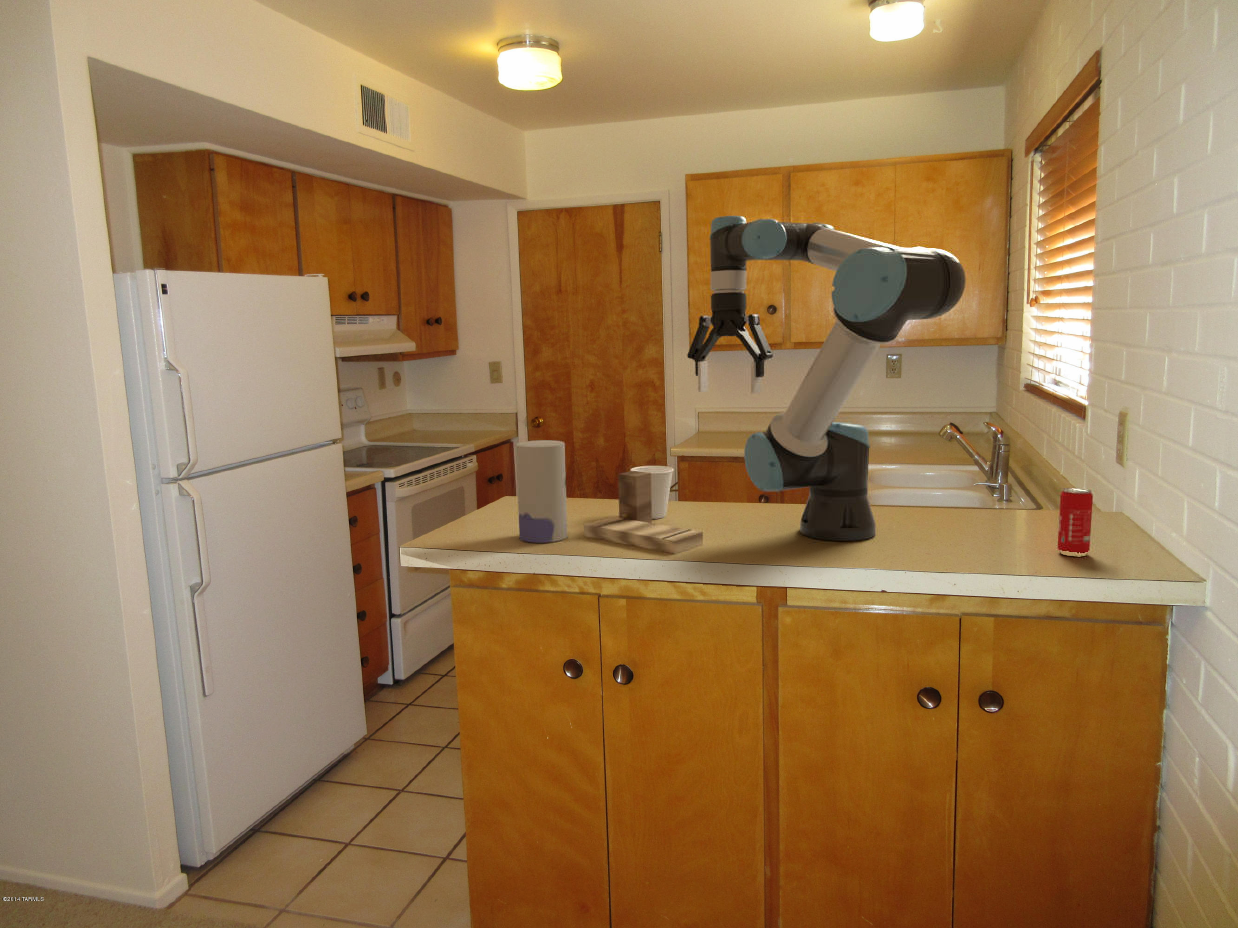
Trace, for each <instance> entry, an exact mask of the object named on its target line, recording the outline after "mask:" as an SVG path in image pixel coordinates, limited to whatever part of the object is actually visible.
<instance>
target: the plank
mask: <svg viewBox="0 0 1238 928" xmlns="http://www.w3.org/2000/svg"><path fill="white" fill-rule="evenodd" d="M583 533H584V534H583V535H584V537H587V538H593V539H598V540H603V541H608V542H613V543H619V544H623V545H629V546H633V545H634V546H635V547H640V548H644V549H649V550H654V551H659V552H665V553H671V554H676V555H677V554H679V553H682V552H685V551H687V550H691V549H693V548H697V547H698V546H702V545H703V544H704V531H699V530H693V529H690V528H689V529H687V528H683V527H682V528H681V527H676V526H669V525H663V524H659V523H658V524H657V523H653V522H652V523H647V522H641V521H635V520H629V519H626V518H625V519H623V518H619V517H617V516H609V517H606V518H602V519H598V520H595V521H592V522H588V523H584V524H583Z"/></svg>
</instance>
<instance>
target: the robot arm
mask: <svg viewBox="0 0 1238 928" xmlns="http://www.w3.org/2000/svg"><path fill="white" fill-rule="evenodd" d="M709 242H710V243H709V244H710V245H709V249H710V250H709V251H710V290H711V292H713V293H711V295H710V310H711V316H709V315H700V316H699V317H698V327H697V329H696V331H695V334H694V337H693V339H692V342H691V343H690V347H689V350H688V353H687V354H686V355H687V358H688V359H691V360H693V361H694V369H695V370H694V371H695V372H694V373H695V374H694V375H695V376H696V377H697V392H707V391H709V376H708V374H709V371H708V370H709V363H708V362H709V361H707V360H706V358H707V357H708V355H709V354H710V353H711V350H712V349H714V346H715V345H716V344H717V342H718V341H719V339H720V338H722V337H736V338H737V339H738V340H739V341H740V343H741V344H742V345H743V346H744V348H745V349H746V351H747V352H748V353H749V355H750V356H751V358H752V359H753V361H751V363H750V393H751V394H761V392H762V378H763V377H764V375H765V361H767V360H769V359H772V358H773V356H774V354H773V352H772V350H771V347H770V345H769V343H768V340H767V337H766V336H765V333H764V330H763V328H762V326H761V321H760V315H759V314H757V313H755V314H752V313H751V314H749V315H747V314H746V311H747V293H746V292H744V291H746V290H747V262H750V261H797V262H799V261H800V262H806V263H809V264H812V265H816V266H819V267H822V268H825V269H827V270H830V271H834V272H835V273H834V276H833V280H832V283H831V285H832V287H834V289H833V290H832V291H831V294H830V295H831V302H832V306H833V307H832V309H833V315H834V318H835V320H836V321H834V322H835V323H834V324H833V326H832V327H831V329H830V331H829V333H828V334H827V336H826V339H825V340H824V341H823V344H822V345H821V348H820V349H819V350H818V353H817V355H816V357H815V358H814V360H813V361H812V363H811V365H810V366H809V369H808V370H807V372H806V374H805V376H804V378H803V379H802V382H801V383H800V385H799V387H798V389H796V390H797V391H796V393H795V394H794V396H793V398H792V399H791V401H790V403H789V405H788V407H787V409H786V411H784V412H780V413H777V414H776V415H775V416H773V418H772V419H771V421H770V423H769V424H768V426H767V428H766V430H764V432H761V431H757V432H755V433H753V434H751V435H750V436H748V438H747V439H746V442H745V444H744V451H743V452H744V454H743V456H744V462H745V463H744V464H745V469H746V472H747V475H748V476H749V479H750V481H751V482H752V483H753V485H754V486H755V487H756V488H757V489H758V490H760V491H762V492H776V493H777V492H781V491H789V490H795V489H797V490H798V489H802V488H809V489H808V491H809V495H808V498H807V500H806V503H805V507H804V511H803V512H802V515H801V518H800V522H799V523H800V524H799V525H800V527H799V528H800V530H799V531H800V533H801V534H802V535H803V536H806V537H809V538H813V539H816V540H824V541H835V542H851V541H853V542H854V541H863V540H868V539H871V538H873V537H875V536H876V531H877V530H876V528H877V525H876V521H875V517H874V513H873V511H872V508H871V505H870V501H869V497H868V491H869V489H868V488H869V485H868V484H869V458H870V457H869V456H870V444H869V443H870V441H869V439H870V438H869V431H868V429H867V427H866V426H864V425H861V424H857V423H848V422H841V421H840V422H837V421H835V420H836V419H837V417H838V415H839V413H840V411H842V409H843V407H844V405H845V403H846V402H847V400H848V399H849V397H850V395H851V394H852V392H853V390H854V389H855V387H856V386H857V384H858V383H859V381H860V379H861V378H862V376H863V375H864V373H865V371H866V370H867V368H868V366H869V364H870V363H871V362H872V360H873V358H874V357H875V355H876V353H877V352H878V350H879V349H880V347H881V345H883V344H890V343H891V342H894V341H895V340H896V338H897V337H898V335H899V333H900V332H901V331H902V330H903V327H904V326H905V324H906V323H907V322H908V321H913V320H932V319H935V318H938V317H941V316H942V317H943V315H945V314H947V313H949V312H950V311H951V310H952V309H954V308H955V307H956V306H957V304H959V302H960V300H961V298H962V297H963V294H964V291H965V289H966V274H965V273H966V272H965V269H964V268H963V265H962V263H961V262H960V261H959V259H958V258H957V257H956V256H954V255H953V254H952V253H950V252H948V251H946V250H943V249H939V248H927V247H923V246H916V247H900V246H897V245H893V244H889V243H885V242H882V241H879V240H875V239H870V238H866V237H863V236H859V235H855V234H852V233H847V232H845V231H840V230H836V229H835V228H834V226H832V225H830V224H825V223H821V222H813V223H810V222H809V223H808V222H806V223H805V222H803V223H802V222H787V221H785V222H784V221H778V220H776V219H774V218H765V219H763V218H760V219H756V220H752V221H750V222H747V220H746V217H744V216H741V215H725V216H717V217H715V218H714V217H713V219H712V220H711V223H710V235H709ZM711 325H712V326H713V327H712V328H711V330H710V332H709V328H710V326H711ZM746 325H748V327H749V329H750V332H751V334H752V337H753V338H752V337H751V336H750V333H749V331H748V330H747V328H746V327H745V326H746ZM708 332H709V333H708ZM707 335H708V336H707Z"/></svg>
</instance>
